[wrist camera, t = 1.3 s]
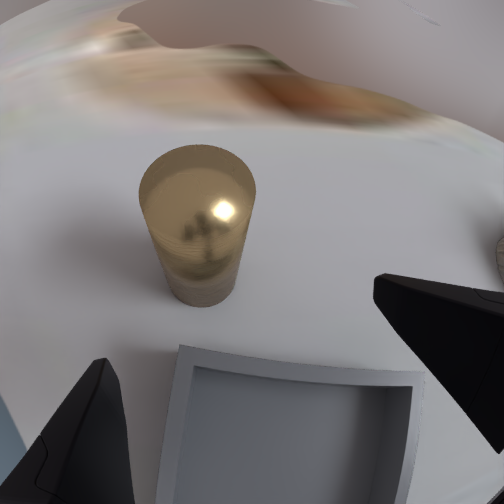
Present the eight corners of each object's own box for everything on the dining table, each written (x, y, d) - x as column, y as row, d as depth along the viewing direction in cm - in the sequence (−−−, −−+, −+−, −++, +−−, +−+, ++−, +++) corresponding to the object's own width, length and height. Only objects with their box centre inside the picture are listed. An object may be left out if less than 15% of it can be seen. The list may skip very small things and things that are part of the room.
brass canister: (230, 313, 22) (246, 251, 12) (160, 299, 22) (122, 228, 12) (241, 248, 25) (262, 154, 15) (176, 237, 24) (159, 138, 14)
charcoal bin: (360, 548, 15) (384, 569, 11) (158, 542, 14) (148, 570, 10) (391, 376, 22) (424, 371, 18) (185, 352, 21) (179, 344, 17)
